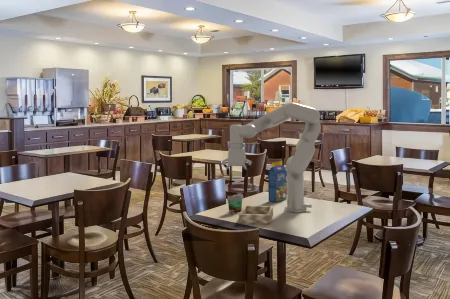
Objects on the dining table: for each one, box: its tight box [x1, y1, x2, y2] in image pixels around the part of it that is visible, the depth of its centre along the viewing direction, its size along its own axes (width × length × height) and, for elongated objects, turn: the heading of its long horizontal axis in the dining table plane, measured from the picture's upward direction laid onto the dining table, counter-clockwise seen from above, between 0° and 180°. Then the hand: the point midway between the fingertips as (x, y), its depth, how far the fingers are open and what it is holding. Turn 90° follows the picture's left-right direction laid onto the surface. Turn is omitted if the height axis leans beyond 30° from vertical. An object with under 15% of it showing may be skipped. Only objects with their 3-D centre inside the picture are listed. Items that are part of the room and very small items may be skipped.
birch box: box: [238, 205, 274, 226], centre depth 234 cm, size 16×20×5 cm
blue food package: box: [267, 160, 287, 203], centre depth 277 cm, size 6×12×25 cm, turn 140°
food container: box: [227, 192, 244, 214], centre depth 252 cm, size 12×6×10 cm, turn 148°
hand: (236, 175), depth 250 cm, fingers open, 9 cm apart
